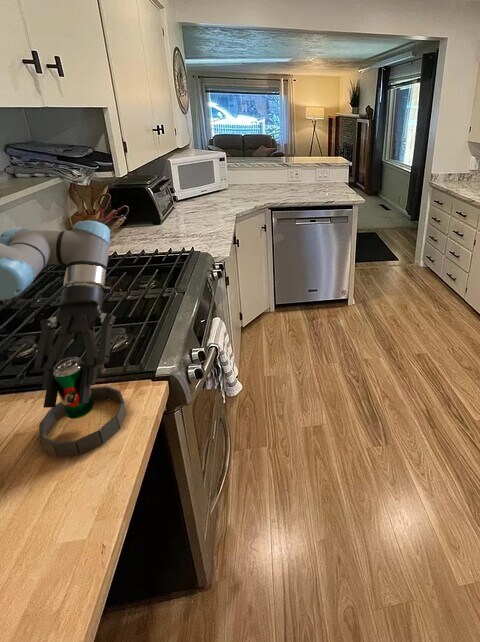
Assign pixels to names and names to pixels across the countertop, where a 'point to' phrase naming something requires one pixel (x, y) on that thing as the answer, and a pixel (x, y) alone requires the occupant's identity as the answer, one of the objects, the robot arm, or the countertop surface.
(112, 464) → the countertop surface
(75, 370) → the soda can
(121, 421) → the gray segmented ring
